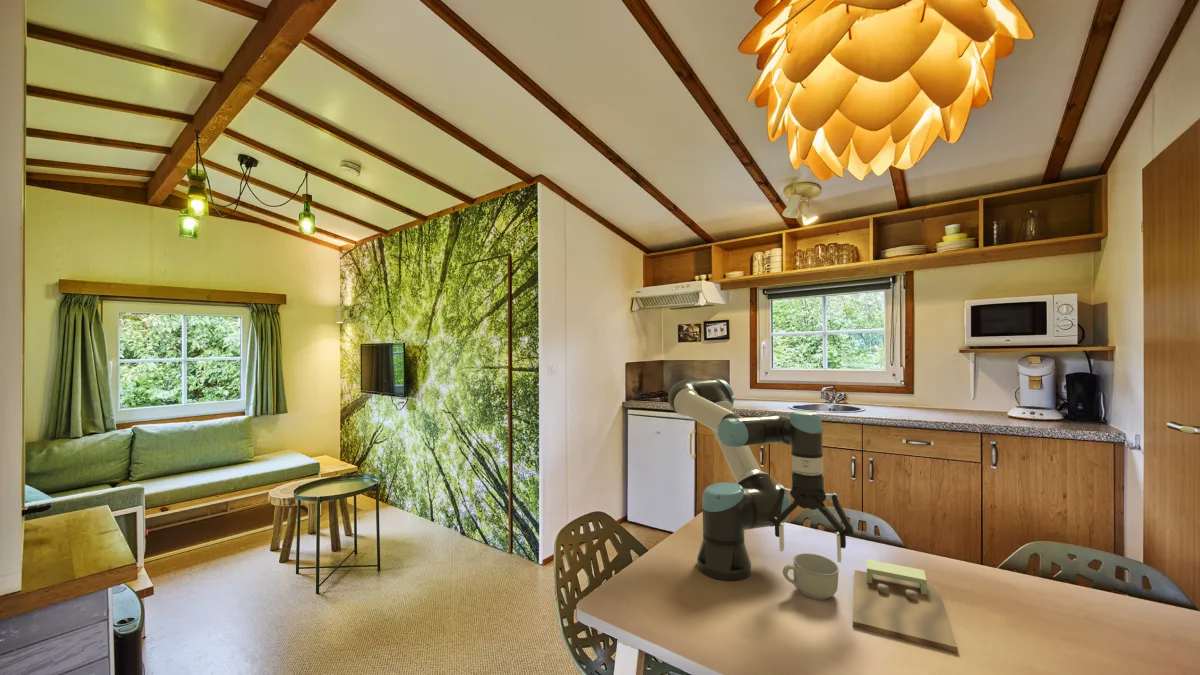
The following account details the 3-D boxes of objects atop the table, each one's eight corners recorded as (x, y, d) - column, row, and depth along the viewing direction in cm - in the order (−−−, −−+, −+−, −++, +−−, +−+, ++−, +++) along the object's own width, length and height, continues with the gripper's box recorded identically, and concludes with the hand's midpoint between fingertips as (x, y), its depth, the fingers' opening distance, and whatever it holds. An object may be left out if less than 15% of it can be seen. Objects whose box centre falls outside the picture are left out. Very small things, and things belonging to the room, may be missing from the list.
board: (852, 626, 105) (852, 614, 105) (854, 574, 129) (854, 564, 129) (957, 653, 95) (957, 639, 95) (938, 591, 119) (938, 580, 120)
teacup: (829, 583, 124) (828, 553, 124) (847, 606, 113) (846, 573, 113) (776, 581, 125) (775, 551, 125) (788, 603, 114) (787, 570, 115)
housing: (867, 582, 122) (866, 568, 122) (867, 572, 127) (866, 559, 127) (927, 595, 115) (926, 580, 115) (924, 584, 121) (923, 570, 121)
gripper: (755, 469, 123) (757, 550, 122) (862, 481, 111) (865, 571, 110) (760, 463, 129) (762, 540, 129) (862, 474, 117) (865, 559, 116)
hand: (809, 554), depth 119 cm, fingers open, 13 cm apart
